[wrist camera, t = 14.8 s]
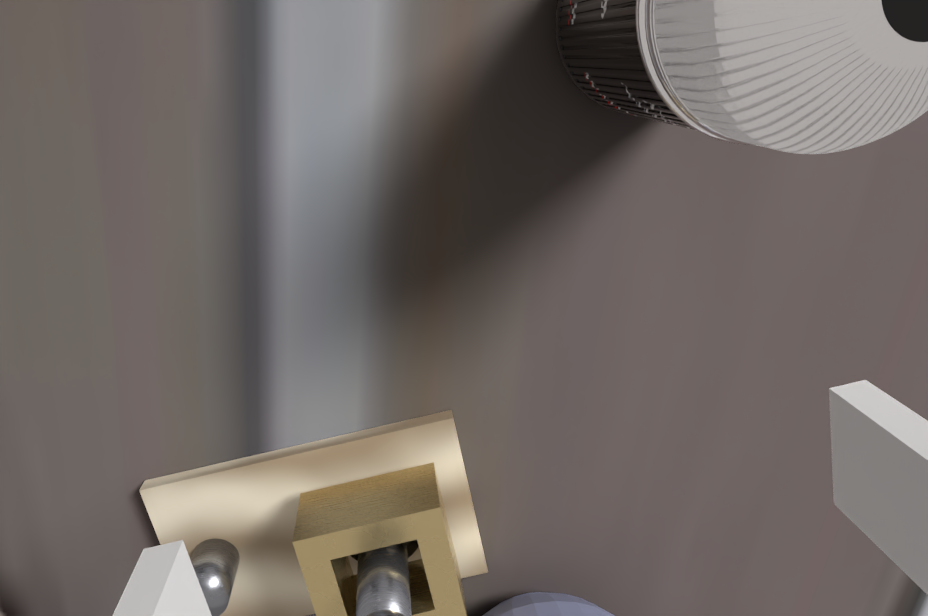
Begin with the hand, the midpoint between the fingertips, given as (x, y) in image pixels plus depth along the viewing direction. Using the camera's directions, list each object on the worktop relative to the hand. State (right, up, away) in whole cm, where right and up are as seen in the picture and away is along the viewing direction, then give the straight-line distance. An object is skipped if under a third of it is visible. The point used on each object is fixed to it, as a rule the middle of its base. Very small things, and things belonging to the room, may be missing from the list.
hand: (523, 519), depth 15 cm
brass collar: (-6, -10, +33) cm, 35 cm away
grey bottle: (+9, +20, +28) cm, 36 cm away
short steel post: (-17, -12, +34) cm, 40 cm away
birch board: (-11, -10, +36) cm, 39 cm away
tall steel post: (-7, -10, +35) cm, 37 cm away
